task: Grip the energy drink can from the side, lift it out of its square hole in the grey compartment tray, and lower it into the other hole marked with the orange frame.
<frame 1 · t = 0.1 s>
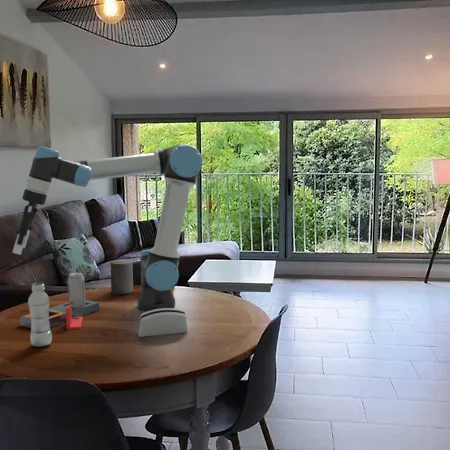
hand: (18, 250, 179), 28 cm above the table, tool tilted 20°, fingers open, 13 cm apart
grey compartment tray: (61, 317, 195), on the table
white plastic holder: (163, 334, 176), on the table
plastic bottle: (41, 346, 166), on the table
bracket: (75, 325, 187), on the table, touching grey compartment tray
energy drink can: (77, 312, 201), resting in grey compartment tray
pillar candle: (122, 292, 232), on the table
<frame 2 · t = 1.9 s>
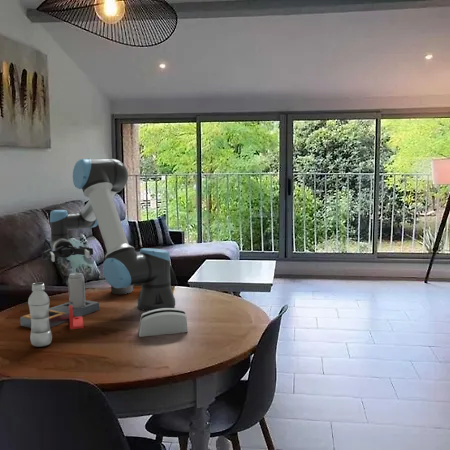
hand: (71, 256, 207), 20 cm above the table, tool horizontal, fingers open, 13 cm apart
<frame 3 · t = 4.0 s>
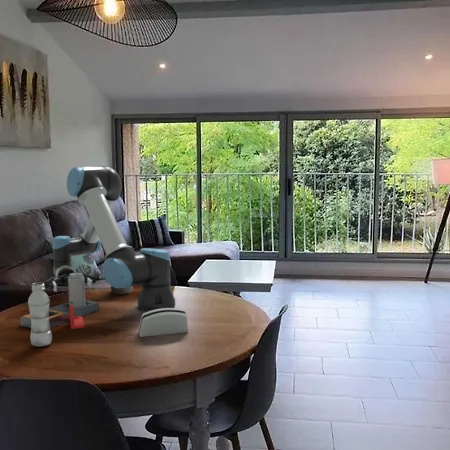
hand: (73, 286, 205), 9 cm above the table, tool horizontal, fingers open, 13 cm apart
nothing on the table moved.
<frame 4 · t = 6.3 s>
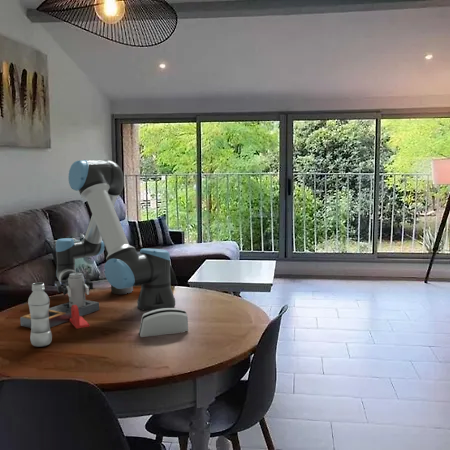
hand: (79, 292, 196), 9 cm above the table, tool horizontal, fingers closed on energy drink can, 6 cm apart
energy drink can: (77, 312, 201), resting in grey compartment tray, touching gripper
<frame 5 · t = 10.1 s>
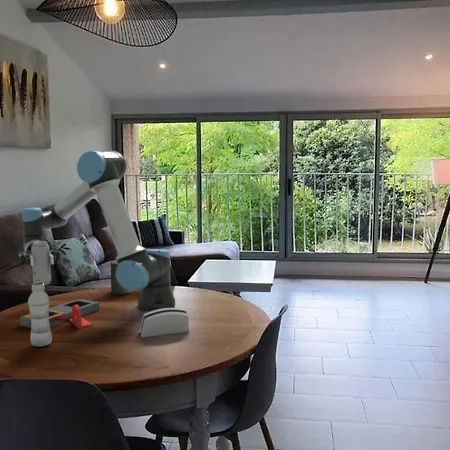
hand: (42, 261, 180), 24 cm above the table, tool horizontal, fingers closed on energy drink can, 6 cm apart
energy drink can: (42, 284, 186), point 14 cm above the table, touching gripper
when the fingers open (10 cm above the table, at t = 13.9 s): energy drink can drops 1 cm, resting in grey compartment tray.
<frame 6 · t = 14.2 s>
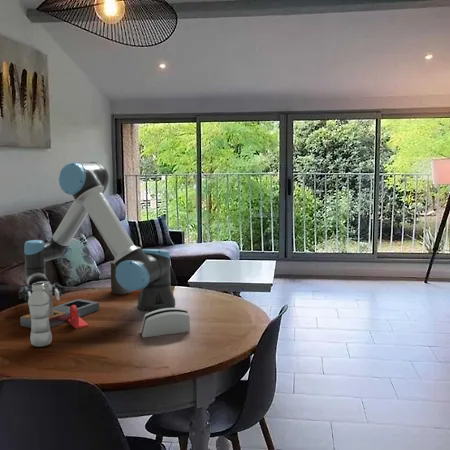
hand: (44, 298, 182), 10 cm above the table, tool horizontal, fingers open, 8 cm apart
energy drink can: (45, 323, 188), resting in grey compartment tray
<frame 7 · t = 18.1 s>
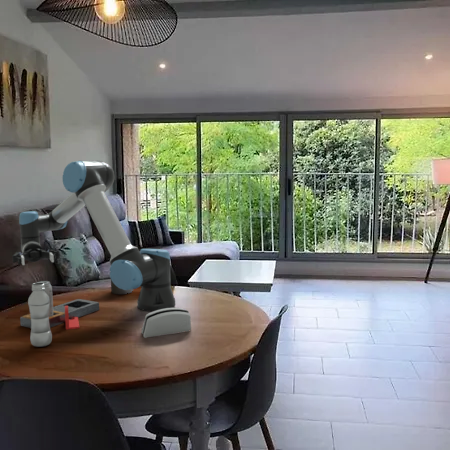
hand: (38, 260, 193), 22 cm above the table, tool horizontal, fingers open, 10 cm apart
bracket: (72, 325, 187), on the table
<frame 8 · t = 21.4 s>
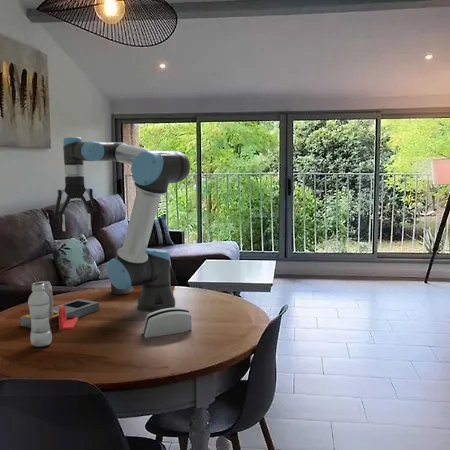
hand: (76, 230, 215), 30 cm above the table, tool pointing down, fingers open, 10 cm apart
bracket: (69, 325, 187), on the table, touching grey compartment tray
at the end: energy drink can 0.1 cm from the target spot on the grey compartment tray, point 0.0 cm above the grey compartment tray's base; energy drink can tilted 0°; the gripper is holding nothing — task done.
